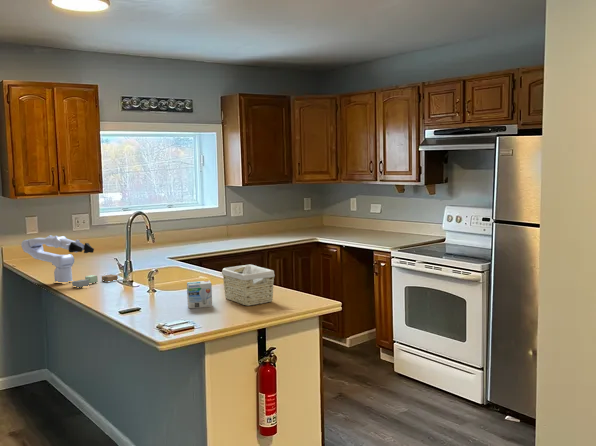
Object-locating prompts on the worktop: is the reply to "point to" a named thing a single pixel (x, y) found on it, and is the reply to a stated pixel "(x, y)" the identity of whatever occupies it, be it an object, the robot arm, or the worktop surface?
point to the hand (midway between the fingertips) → (87, 250)
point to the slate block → (80, 283)
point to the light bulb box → (199, 294)
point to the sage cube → (91, 278)
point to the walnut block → (110, 277)
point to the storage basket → (248, 284)
